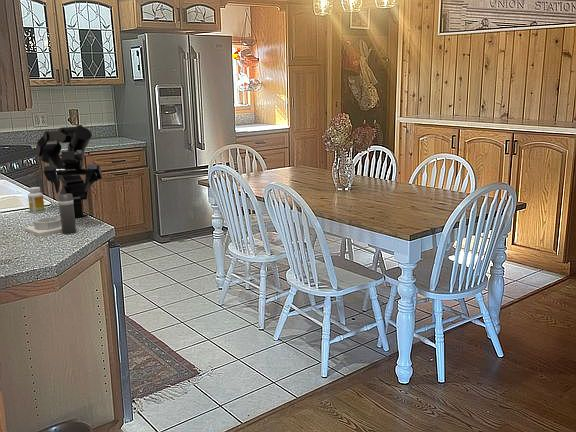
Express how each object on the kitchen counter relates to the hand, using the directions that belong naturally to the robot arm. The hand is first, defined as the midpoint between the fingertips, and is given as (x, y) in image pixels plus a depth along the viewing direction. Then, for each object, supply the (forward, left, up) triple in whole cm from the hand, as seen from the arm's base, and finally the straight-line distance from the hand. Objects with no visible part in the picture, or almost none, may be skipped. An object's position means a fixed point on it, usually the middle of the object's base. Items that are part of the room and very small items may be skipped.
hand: (70, 192), depth 202 cm
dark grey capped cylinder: (+5, -4, -13) cm, 14 cm away
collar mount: (-4, -7, -13) cm, 15 cm away
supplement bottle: (-37, +3, -13) cm, 40 cm away
